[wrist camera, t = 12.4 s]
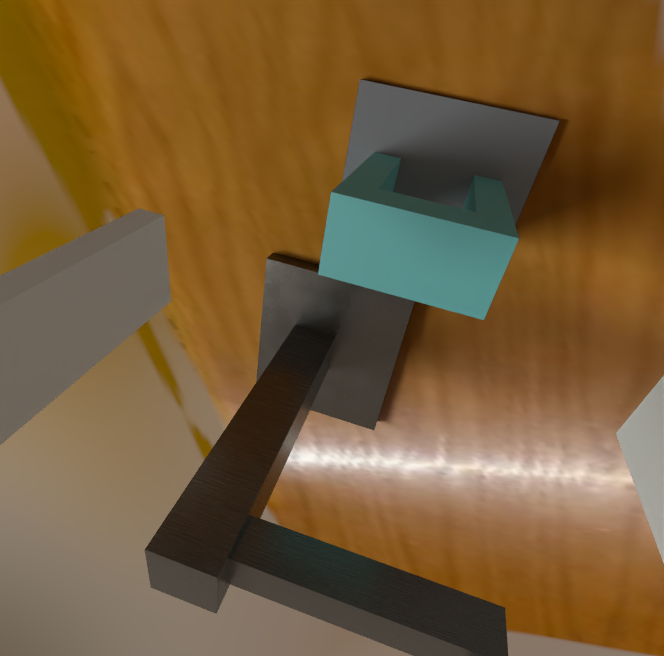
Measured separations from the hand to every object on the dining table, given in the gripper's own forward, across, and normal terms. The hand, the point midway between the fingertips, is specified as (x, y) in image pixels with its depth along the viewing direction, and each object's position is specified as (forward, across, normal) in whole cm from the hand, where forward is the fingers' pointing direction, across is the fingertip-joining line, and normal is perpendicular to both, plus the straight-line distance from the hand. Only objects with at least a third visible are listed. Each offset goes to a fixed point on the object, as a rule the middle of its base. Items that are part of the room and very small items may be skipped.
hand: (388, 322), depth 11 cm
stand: (+15, -1, -13) cm, 20 cm away
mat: (+15, 0, -1) cm, 15 cm away
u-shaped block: (+15, 0, -1) cm, 15 cm away
